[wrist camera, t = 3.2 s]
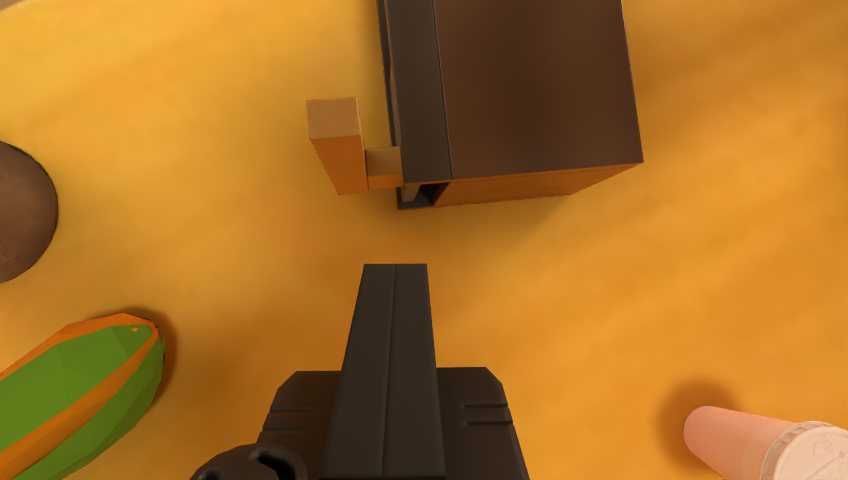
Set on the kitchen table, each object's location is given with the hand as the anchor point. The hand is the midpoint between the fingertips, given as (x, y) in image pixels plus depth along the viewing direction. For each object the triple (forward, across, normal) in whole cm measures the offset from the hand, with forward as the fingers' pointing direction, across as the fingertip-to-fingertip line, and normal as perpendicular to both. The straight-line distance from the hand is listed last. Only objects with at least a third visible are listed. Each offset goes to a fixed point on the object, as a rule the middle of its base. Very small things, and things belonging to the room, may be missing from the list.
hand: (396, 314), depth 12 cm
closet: (+26, +5, +4) cm, 27 cm away
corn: (+16, -22, -16) cm, 32 cm away
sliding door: (+23, -2, +1) cm, 23 cm away
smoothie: (+17, +21, -19) cm, 33 cm away
